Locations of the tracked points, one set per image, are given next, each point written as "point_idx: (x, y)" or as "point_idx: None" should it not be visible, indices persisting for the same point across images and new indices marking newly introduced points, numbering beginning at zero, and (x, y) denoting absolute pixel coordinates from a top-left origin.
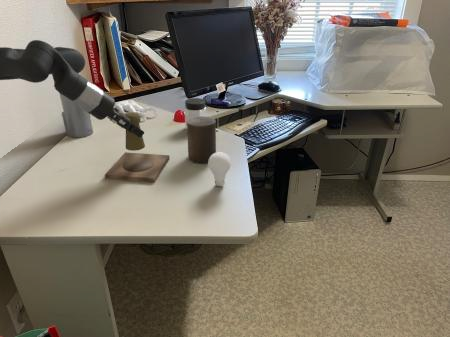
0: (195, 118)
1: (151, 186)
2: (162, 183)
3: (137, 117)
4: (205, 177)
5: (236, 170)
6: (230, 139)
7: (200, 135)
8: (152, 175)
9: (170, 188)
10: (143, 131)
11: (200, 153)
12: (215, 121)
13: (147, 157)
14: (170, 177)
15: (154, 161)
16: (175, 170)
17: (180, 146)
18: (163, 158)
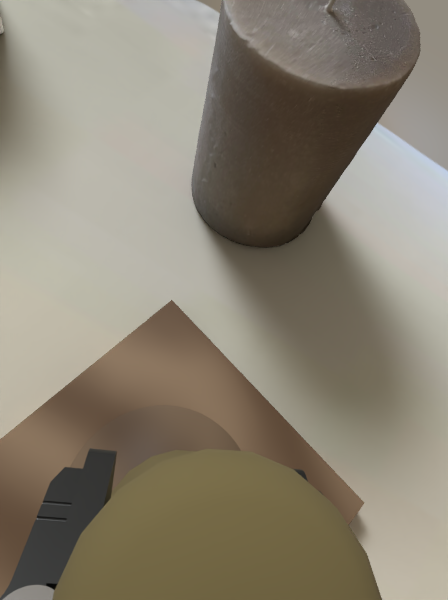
0: (265, 4)
1: (377, 534)
2: (376, 470)
3: (366, 558)
4: (412, 288)
5: (415, 174)
6: (174, 16)
7: (374, 126)
8: (331, 496)
9: (432, 461)
10: (306, 478)
11: (322, 201)
12: None
13: (110, 412)
14: (342, 407)
15: (186, 404)
16: (294, 350)
17: (75, 187)
18: (186, 344)
